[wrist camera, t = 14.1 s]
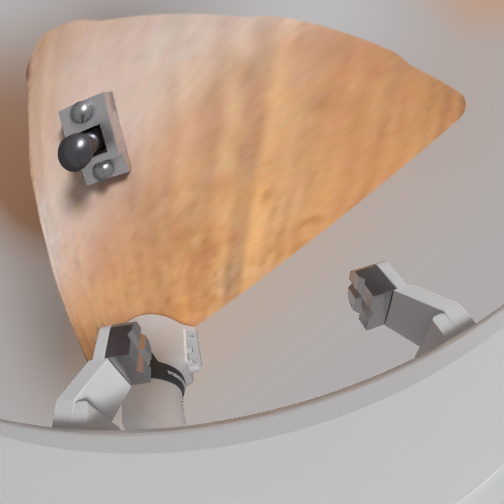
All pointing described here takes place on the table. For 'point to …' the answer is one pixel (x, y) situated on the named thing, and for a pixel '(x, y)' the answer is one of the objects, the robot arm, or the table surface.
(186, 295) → the table surface
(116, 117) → the slotted ball-knob block
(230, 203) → the table surface
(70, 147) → the pin
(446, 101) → the table surface
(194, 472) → the robot arm
